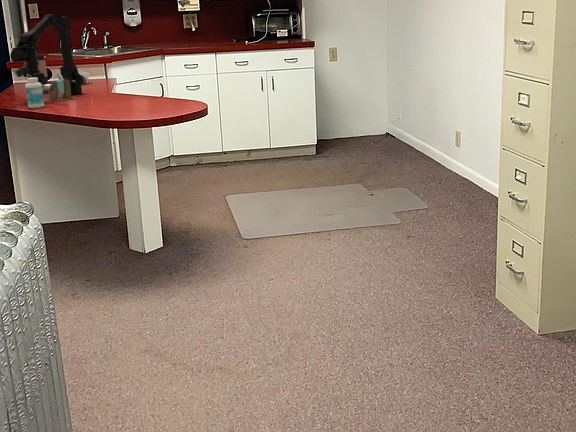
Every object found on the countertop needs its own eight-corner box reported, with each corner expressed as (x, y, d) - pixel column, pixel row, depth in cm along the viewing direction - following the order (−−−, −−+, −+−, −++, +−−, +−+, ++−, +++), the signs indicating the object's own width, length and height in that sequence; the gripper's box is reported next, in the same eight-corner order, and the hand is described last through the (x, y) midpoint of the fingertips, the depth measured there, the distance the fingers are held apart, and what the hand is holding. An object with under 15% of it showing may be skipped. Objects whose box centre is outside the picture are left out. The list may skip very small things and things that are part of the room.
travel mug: (32, 94, 405) (26, 56, 399) (41, 92, 412) (36, 54, 406) (43, 94, 402) (38, 56, 396) (52, 92, 409) (47, 54, 403)
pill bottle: (27, 107, 354) (23, 78, 350) (43, 105, 356) (39, 76, 353) (28, 108, 347) (24, 79, 343) (45, 107, 350) (41, 78, 346)
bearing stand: (69, 97, 384) (66, 79, 381) (75, 98, 376) (72, 80, 373) (29, 101, 374) (26, 83, 371) (34, 103, 366) (32, 84, 363)
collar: (61, 91, 379) (59, 79, 377) (64, 92, 374) (63, 80, 372) (55, 92, 378) (53, 80, 376) (58, 93, 373) (57, 81, 371)
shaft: (67, 89, 380) (66, 80, 378) (70, 89, 376) (69, 81, 375) (29, 93, 370) (28, 84, 369) (31, 94, 367) (30, 84, 365)
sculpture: (93, 84, 441) (91, 67, 439) (60, 87, 434) (58, 70, 431) (85, 81, 463) (83, 65, 460) (53, 83, 455) (51, 67, 453)
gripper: (9, 60, 369) (14, 92, 373) (19, 62, 353) (23, 96, 358) (32, 59, 374) (37, 90, 379) (42, 60, 359) (47, 93, 364)
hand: (35, 92), depth 370 cm, fingers closed on shaft, 3 cm apart
